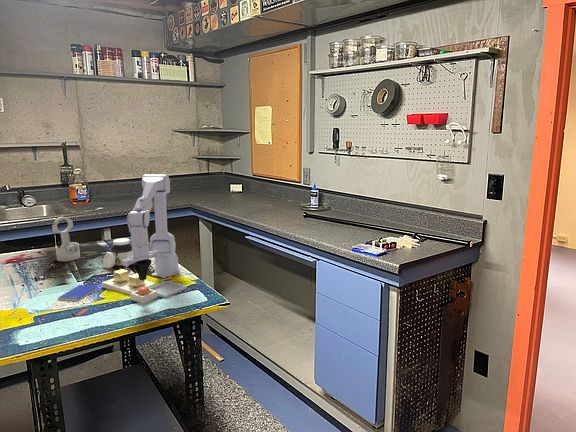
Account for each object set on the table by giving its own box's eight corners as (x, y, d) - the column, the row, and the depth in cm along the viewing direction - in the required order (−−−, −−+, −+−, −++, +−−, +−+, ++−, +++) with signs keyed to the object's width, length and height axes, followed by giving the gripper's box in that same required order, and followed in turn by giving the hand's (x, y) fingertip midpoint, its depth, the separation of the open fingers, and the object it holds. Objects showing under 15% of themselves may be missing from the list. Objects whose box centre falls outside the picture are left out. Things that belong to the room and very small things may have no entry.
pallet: (125, 278, 181) (124, 274, 181) (156, 287, 172) (156, 283, 171) (102, 287, 172) (101, 282, 172) (134, 297, 163) (133, 292, 162)
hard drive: (78, 298, 159) (97, 285, 171) (57, 296, 160) (78, 284, 172) (78, 302, 159) (97, 289, 171) (58, 300, 160) (79, 288, 172)
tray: (167, 284, 176) (166, 280, 175) (187, 289, 170) (186, 286, 170) (145, 293, 166) (145, 289, 166) (165, 299, 161) (165, 295, 161)
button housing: (145, 294, 165) (144, 287, 164) (157, 298, 162) (156, 291, 161) (131, 300, 159) (130, 293, 159) (143, 304, 156) (142, 297, 155)
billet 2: (138, 287, 172) (137, 273, 171) (145, 289, 170) (144, 275, 169) (129, 290, 169) (128, 276, 168) (136, 292, 167) (135, 278, 165)
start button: (144, 292, 163) (144, 285, 162) (152, 294, 161) (151, 287, 160) (136, 296, 159) (135, 289, 159) (143, 298, 157) (142, 291, 157)
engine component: (84, 257, 209) (73, 253, 215) (79, 216, 204) (68, 213, 210) (61, 263, 200) (51, 259, 206) (56, 220, 196) (45, 217, 202)
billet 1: (122, 282, 177) (121, 269, 176) (129, 284, 175) (128, 270, 174) (114, 286, 174) (113, 271, 172) (121, 288, 172) (119, 273, 170)
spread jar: (137, 262, 202) (135, 238, 199) (124, 270, 191) (122, 245, 188) (114, 261, 204) (112, 237, 201) (99, 269, 193) (97, 244, 190)
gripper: (131, 250, 148) (134, 287, 151) (163, 240, 160) (165, 275, 163) (117, 247, 151) (120, 283, 154) (150, 238, 163) (152, 271, 166)
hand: (142, 279), depth 159 cm, fingers closed
